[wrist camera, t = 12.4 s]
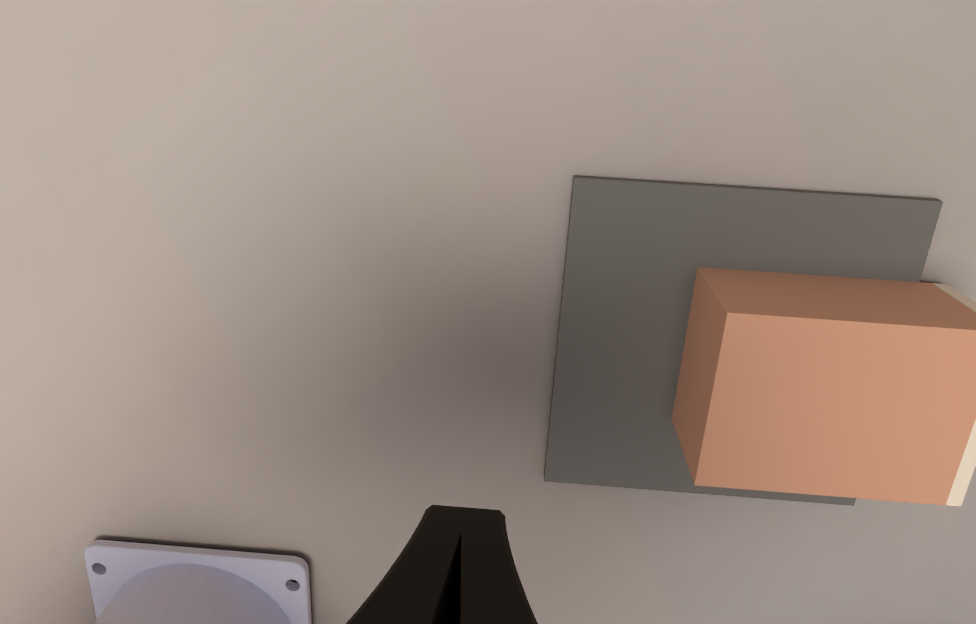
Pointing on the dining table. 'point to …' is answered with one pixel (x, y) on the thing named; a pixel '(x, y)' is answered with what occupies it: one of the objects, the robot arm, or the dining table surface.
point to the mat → (688, 304)
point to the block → (828, 386)
